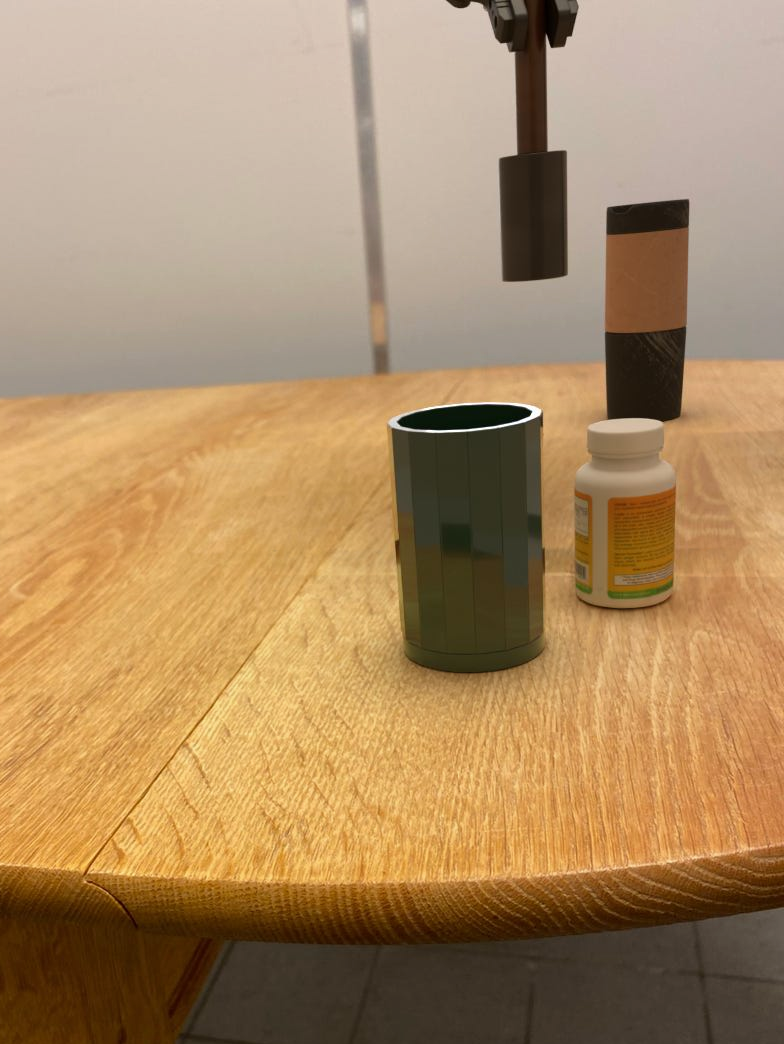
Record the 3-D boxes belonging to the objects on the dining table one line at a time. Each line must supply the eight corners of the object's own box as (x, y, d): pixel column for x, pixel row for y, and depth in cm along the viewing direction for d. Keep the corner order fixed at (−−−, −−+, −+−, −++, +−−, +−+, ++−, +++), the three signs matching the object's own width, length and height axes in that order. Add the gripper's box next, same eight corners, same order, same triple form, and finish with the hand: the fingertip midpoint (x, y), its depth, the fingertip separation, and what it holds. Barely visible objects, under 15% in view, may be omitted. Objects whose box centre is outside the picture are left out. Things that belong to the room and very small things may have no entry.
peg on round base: (570, 273, 67) (568, -42, 60) (565, 278, 63) (562, -56, 57) (505, 278, 68) (497, -30, 62) (497, 283, 64) (487, -42, 58)
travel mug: (680, 407, 110) (686, 198, 102) (687, 421, 103) (694, 198, 96) (603, 411, 112) (604, 206, 104) (605, 425, 105) (606, 207, 97)
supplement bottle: (690, 588, 61) (696, 417, 57) (643, 617, 57) (647, 437, 54) (605, 573, 64) (606, 412, 61) (556, 600, 61) (554, 431, 57)
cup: (551, 620, 58) (548, 399, 54) (538, 675, 52) (533, 428, 47) (418, 618, 60) (405, 406, 56) (389, 670, 54) (372, 435, 50)
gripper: (373, -215, 62) (424, -18, 55) (605, -236, 62) (684, -44, 55) (368, -83, 69) (412, 107, 62) (576, -103, 69) (644, 83, 62)
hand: (541, 34), depth 59 cm, fingers closed on peg on round base, 2 cm apart
